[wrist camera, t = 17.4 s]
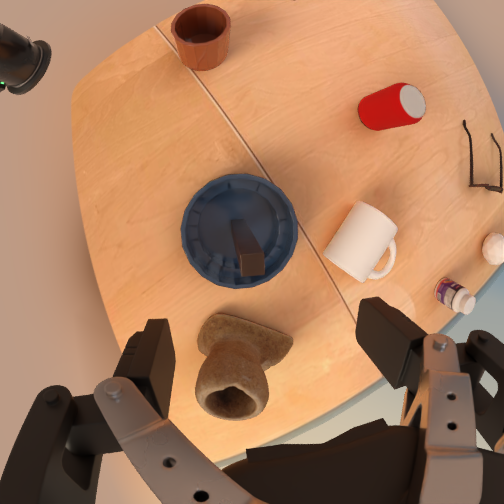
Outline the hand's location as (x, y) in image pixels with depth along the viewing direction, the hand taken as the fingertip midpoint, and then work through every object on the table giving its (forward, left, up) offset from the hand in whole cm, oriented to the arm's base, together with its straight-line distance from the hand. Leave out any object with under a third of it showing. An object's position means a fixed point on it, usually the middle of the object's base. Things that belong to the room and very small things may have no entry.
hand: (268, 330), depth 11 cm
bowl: (+1, -2, -31) cm, 31 cm away
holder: (-3, +26, -31) cm, 41 cm away
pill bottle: (+45, -18, -32) cm, 58 cm away
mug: (+21, -6, -32) cm, 38 cm away
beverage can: (+24, +16, -32) cm, 43 cm away
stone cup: (0, -23, -32) cm, 39 cm away
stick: (+1, -2, -31) cm, 31 cm away
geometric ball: (+61, -9, -32) cm, 69 cm away
